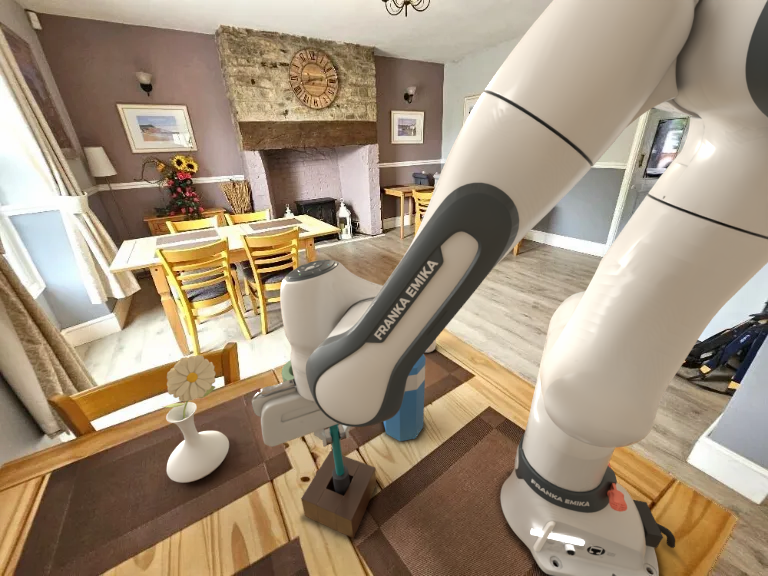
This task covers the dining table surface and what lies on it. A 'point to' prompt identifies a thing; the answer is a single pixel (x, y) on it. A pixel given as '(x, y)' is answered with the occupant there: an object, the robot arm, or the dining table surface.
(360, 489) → the brush holder
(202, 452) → the flower in vase
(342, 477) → the bottle brush
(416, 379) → the water bottle
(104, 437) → the dining table surface
